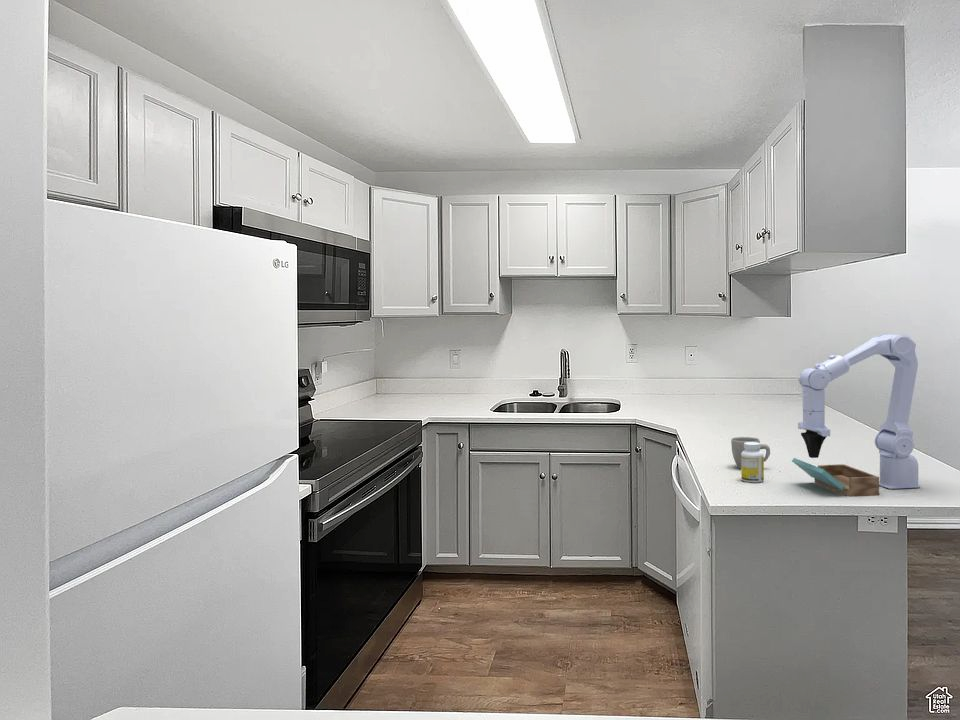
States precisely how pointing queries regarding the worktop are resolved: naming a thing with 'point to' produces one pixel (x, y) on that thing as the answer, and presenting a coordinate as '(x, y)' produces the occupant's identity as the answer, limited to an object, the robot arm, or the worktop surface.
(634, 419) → the worktop surface
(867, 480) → the wooden box
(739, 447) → the mug
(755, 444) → the pill bottle
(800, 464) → the teal box lid
